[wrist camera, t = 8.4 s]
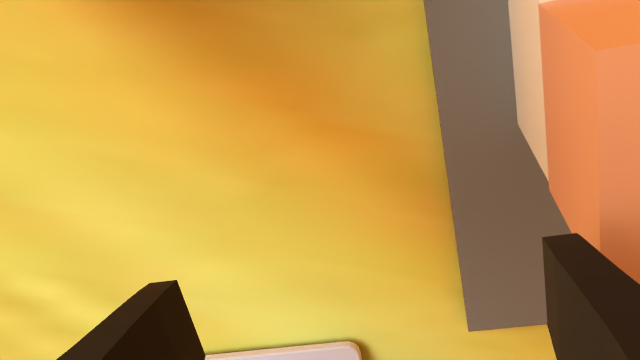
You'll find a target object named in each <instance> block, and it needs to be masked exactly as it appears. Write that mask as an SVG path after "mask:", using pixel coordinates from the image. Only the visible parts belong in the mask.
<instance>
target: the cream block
mask: <svg viewBox="0 0 640 360" xmlns="http://www.w3.org/2000/svg"><path fill="white" fill-rule="evenodd" d="M549 1H554V0H508V7H509V19H510V32H511V45H512V57H513V70H514V83H515V95H516V108H517V120H518V125H519V127H520V129H521V131H522V133H523V135H524V137H525V139H526V140H527V142H528V144H529V146H530V148H531V150H532V152H533V154H534V156H535V157H536V159H537V161H538V163H539V165H540V167H541V169H542V171H543V172H544V174H545V176H546V178H547V180H548V182H549V178H548V161H547V144H546V127H545V110H544V93H543V76H542V59H541V42H540V25H539V9H538V3H544V2H549Z"/></svg>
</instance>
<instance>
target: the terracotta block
mask: <svg viewBox="0 0 640 360" xmlns="http://www.w3.org/2000/svg"><path fill="white" fill-rule="evenodd" d="M538 9H539V25H540V42H541V59H542V76H543V93H544V110H545V127H546V144H547V161H548V178H549V190H550V192H551V194H552V196H553V198H554V200H555V202H556V204H557V206H558V208H559V210H560V212H561V214H562V215H563V217H564V219H565V221H566V223H567V225H568V227H569V229H570V231H571V233H578V234H579V235H580V236H582V237H583V238H584V239H585V240H587V241H588V242H589V243H590V244H591V245H592V246H594V247H595V248H596V249H597V250H598V251H600V252H601V253H602V254H603V255H604V256H605V257H607V258H608V259H609V260H610V261H611V262H613V263H614V264H615V265H616V266H617V267H619V268H620V269H621V270H622V271H624V272H625V273H626V274H627V275H629V276H630V277H631V278H632V279H634V280H635V281H636V282H637V283H639V284H640V0H554V1H549V2H544V3H538Z"/></svg>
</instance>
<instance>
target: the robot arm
mask: <svg viewBox="0 0 640 360" xmlns="http://www.w3.org/2000/svg"><path fill="white" fill-rule="evenodd" d="M542 246H543V261H544V277H545V293H546V309H547V325H548V328H549V332H550V336H551V340H552V343H553V347H554V351H555V355H556V358H557V360H640V284H639V283H637V282H636V281H635V280H634V279H632V278H631V277H630V276H629V275H627V274H626V273H625V272H624V271H622V270H621V269H620V268H619V267H617V266H616V265H615V264H614V263H613V262H611V261H610V260H609V259H608V258H607V257H605V256H604V255H603V254H602V253H601V252H600V251H598V250H597V249H596V248H595V247H594V246H592V245H591V244H590V243H589V242H588V241H587V240H585V239H584V238H583V237H582V236H580V235H579V234H578V233H572V234H564V235H555V236H547V237H542ZM57 360H362V357H361V352H360V349H359V347H358V345H356V344H355V343H353V342H350V341H344V342H333V343H323V344H313V345H303V346H293V347H283V348H273V349H262V350H252V351H242V352H232V353H222V354H212V355H205V353H204V351H203V348H202V345H201V343H200V340H199V337H198V335H197V332H196V330H195V327H194V324H193V322H192V319H191V316H190V314H189V311H188V308H187V306H186V303H185V301H184V298H183V295H182V293H181V290H180V287H179V285H178V282H177V280H173V281H165V282H156V283H149V284H148V285H146V286H145V287H144V288H142V289H141V290H139V291H138V292H137V293H136V294H134V295H133V296H132V297H131V298H129V299H128V300H127V301H126V302H125V303H123V304H122V305H121V306H120V307H119V308H117V309H116V310H115V311H114V312H113V313H112V314H110V315H109V316H108V317H107V318H106V319H105V320H103V321H102V322H101V323H100V324H99V325H97V326H96V327H95V328H94V329H93V330H92V331H90V332H89V333H88V334H87V335H86V336H85V337H83V338H82V339H81V340H80V341H79V342H77V343H76V344H75V345H74V346H73V347H72V348H70V349H69V350H68V351H67V352H65V353H64V354H63V355H62V356H60V357H59V358H58V359H57Z"/></svg>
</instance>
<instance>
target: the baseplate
mask: <svg viewBox="0 0 640 360" xmlns="http://www.w3.org/2000/svg"><path fill="white" fill-rule="evenodd" d="M424 7H425V14H426V22H427V29H428V36H429V44H430V51H431V59H432V66H433V73H434V81H435V88H436V96H437V103H438V110H439V118H440V125H441V132H442V140H443V147H444V155H445V162H446V169H447V177H448V184H449V192H450V199H451V206H452V214H453V221H454V229H455V236H456V243H457V251H458V258H459V266H460V273H461V280H462V288H463V295H464V303H465V310H466V317H467V325H468V330H469V332H470V331H481V330H491V329H501V328H511V327H521V326H532V325H542V324H547V309H546V293H545V277H544V261H543V246H542V237H547V236H555V235H564V234H572V233H571V231H570V229H569V227H568V225H567V223H566V221H565V219H564V217H563V215H562V214H561V212H560V210H559V208H558V206H557V204H556V202H555V200H554V198H553V196H552V194H551V192H550V190H549V182H548V180H547V178H546V176H545V174H544V172H543V171H542V169H541V167H540V165H539V163H538V161H537V159H536V157H535V156H534V154H533V152H532V150H531V148H530V146H529V144H528V142H527V140H526V139H525V137H524V135H523V133H522V131H521V129H520V127H519V125H518V120H517V108H516V95H515V83H514V70H513V57H512V45H511V32H510V19H509V7H508V0H424Z"/></svg>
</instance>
